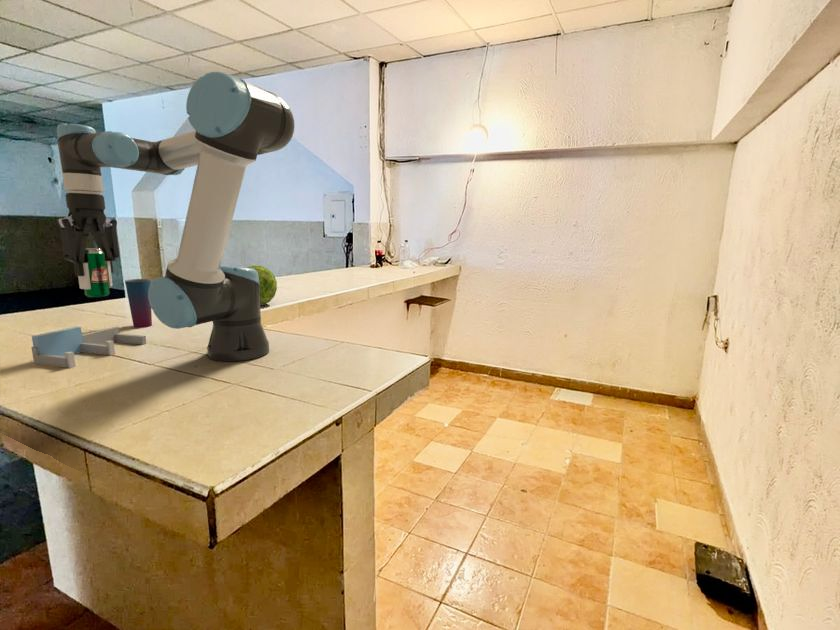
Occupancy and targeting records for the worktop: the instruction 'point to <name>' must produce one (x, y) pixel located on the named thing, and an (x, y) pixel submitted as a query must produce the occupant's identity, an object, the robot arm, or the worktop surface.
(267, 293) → the green watermelon
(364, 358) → the worktop surface
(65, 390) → the worktop surface
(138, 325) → the cup
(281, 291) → the worktop surface
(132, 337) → the three-post can rack
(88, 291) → the soda can
